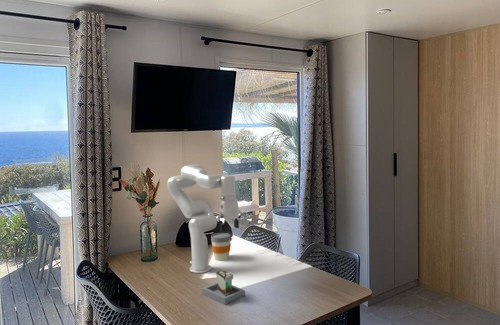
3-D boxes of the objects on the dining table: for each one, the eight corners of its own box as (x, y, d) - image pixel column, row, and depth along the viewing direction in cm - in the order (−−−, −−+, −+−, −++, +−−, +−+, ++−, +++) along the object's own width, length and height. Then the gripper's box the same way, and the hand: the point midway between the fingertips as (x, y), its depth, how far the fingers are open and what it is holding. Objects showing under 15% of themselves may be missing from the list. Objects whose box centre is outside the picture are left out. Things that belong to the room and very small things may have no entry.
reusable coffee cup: (209, 257, 262) (208, 234, 261) (227, 254, 267) (226, 231, 266) (215, 263, 251) (214, 239, 249) (234, 259, 256) (233, 236, 255)
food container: (237, 295, 201) (237, 275, 200) (226, 298, 198) (225, 278, 197) (227, 286, 212) (226, 268, 211) (216, 289, 209) (215, 270, 208)
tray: (202, 293, 206) (201, 288, 206) (222, 286, 215) (222, 280, 214) (224, 304, 193) (224, 298, 192) (245, 296, 202) (244, 290, 201)
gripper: (220, 201, 210) (221, 234, 212) (245, 196, 222) (246, 227, 223) (211, 199, 215) (212, 231, 217) (236, 195, 227) (237, 225, 229)
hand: (229, 229), depth 220 cm, fingers open, 9 cm apart
